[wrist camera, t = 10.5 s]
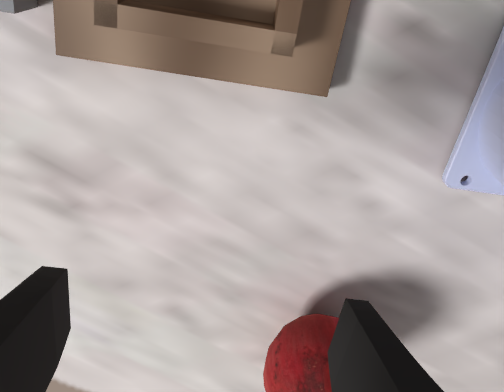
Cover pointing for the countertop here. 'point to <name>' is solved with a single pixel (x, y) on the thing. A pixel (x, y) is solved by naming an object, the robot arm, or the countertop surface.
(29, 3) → the stand
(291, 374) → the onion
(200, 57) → the board
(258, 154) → the countertop surface
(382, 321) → the robot arm
